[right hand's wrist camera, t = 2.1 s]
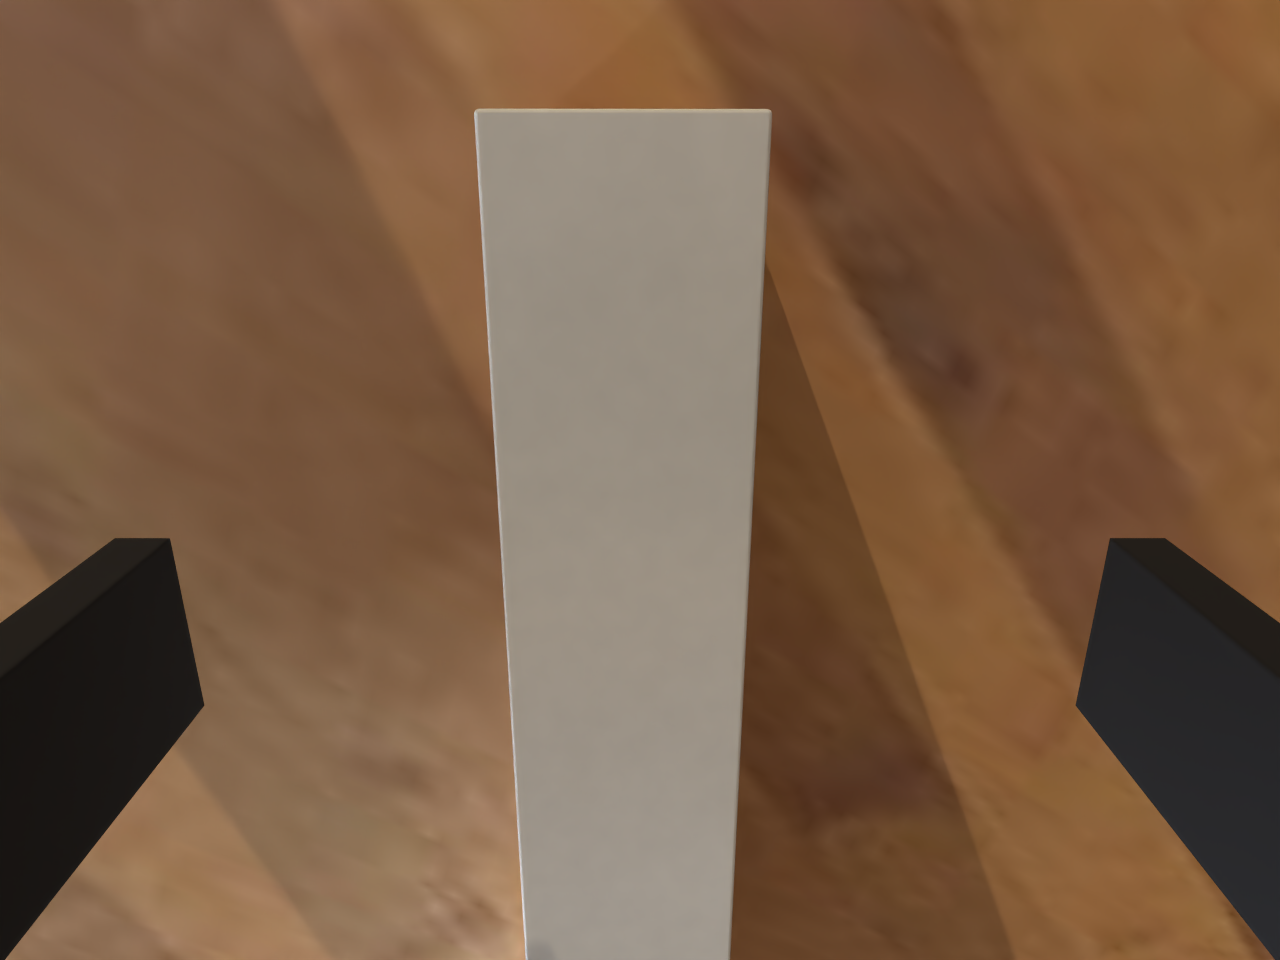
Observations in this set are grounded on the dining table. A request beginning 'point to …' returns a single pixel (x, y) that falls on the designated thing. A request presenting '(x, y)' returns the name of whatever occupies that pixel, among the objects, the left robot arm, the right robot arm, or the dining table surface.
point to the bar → (625, 507)
